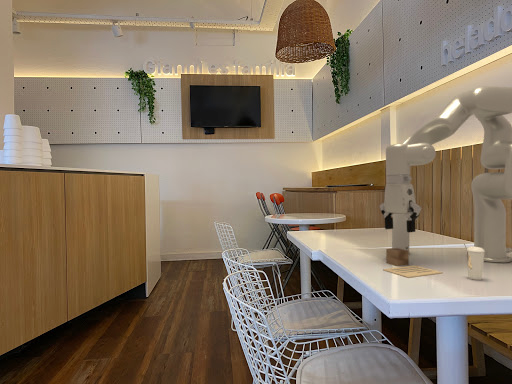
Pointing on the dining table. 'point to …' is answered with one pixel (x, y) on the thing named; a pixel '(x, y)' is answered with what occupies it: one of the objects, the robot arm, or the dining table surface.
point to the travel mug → (400, 232)
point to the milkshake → (475, 262)
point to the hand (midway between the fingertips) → (399, 230)
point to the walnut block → (397, 256)
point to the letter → (412, 271)
